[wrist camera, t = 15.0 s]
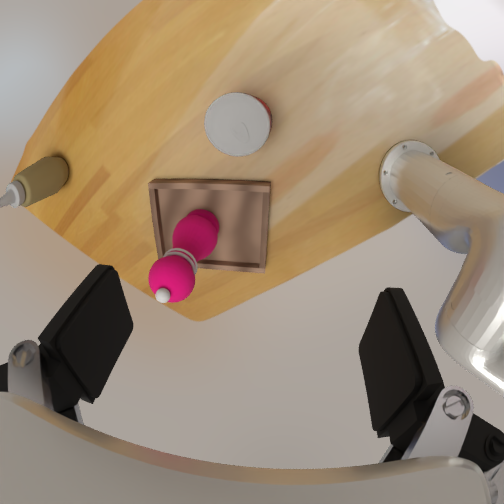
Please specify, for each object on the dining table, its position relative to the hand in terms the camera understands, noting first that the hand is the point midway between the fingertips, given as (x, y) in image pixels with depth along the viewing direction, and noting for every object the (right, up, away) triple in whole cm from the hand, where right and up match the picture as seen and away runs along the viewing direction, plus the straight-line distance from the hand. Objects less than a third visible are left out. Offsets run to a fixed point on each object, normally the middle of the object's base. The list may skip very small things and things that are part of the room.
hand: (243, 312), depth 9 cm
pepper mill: (-8, +7, +38) cm, 40 cm away
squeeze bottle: (-39, +19, +36) cm, 56 cm away
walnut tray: (-7, +7, +39) cm, 40 cm away
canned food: (0, +22, +30) cm, 37 cm away
